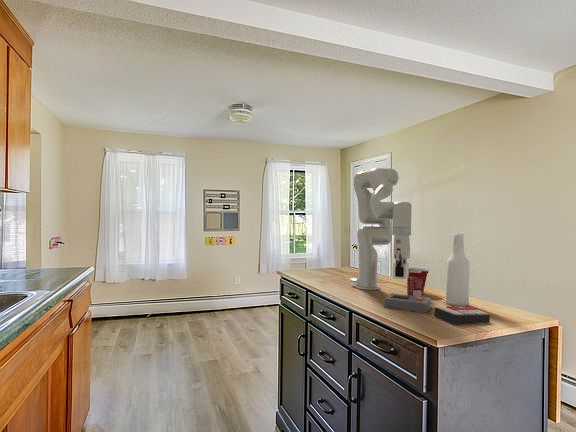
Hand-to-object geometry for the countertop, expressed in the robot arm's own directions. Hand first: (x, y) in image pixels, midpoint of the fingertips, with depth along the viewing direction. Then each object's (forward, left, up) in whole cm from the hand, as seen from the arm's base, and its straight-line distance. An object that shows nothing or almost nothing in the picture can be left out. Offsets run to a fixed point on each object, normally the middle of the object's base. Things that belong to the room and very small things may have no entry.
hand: (400, 275), depth 148 cm
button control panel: (+23, -7, -13) cm, 28 cm away
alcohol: (+20, +17, -13) cm, 29 cm away
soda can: (+2, +20, -13) cm, 24 cm away
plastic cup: (+1, +32, -13) cm, 35 cm away
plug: (0, 0, -1) cm, 1 cm away
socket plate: (+3, 0, -13) cm, 13 cm away
